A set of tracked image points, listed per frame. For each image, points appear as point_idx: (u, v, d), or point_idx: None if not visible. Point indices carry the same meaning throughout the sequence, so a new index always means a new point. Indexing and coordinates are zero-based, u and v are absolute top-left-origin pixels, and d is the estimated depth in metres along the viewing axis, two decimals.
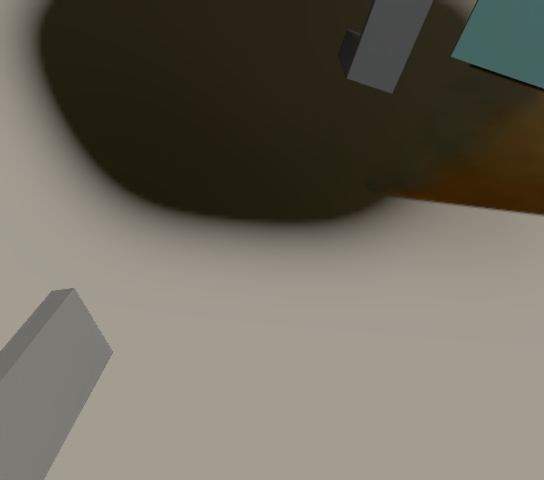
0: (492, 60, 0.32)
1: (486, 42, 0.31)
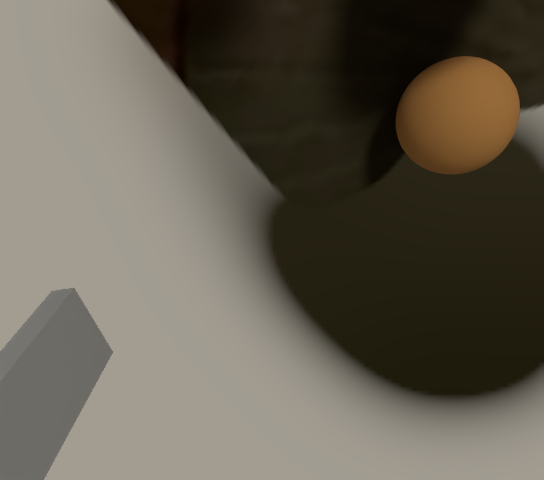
0: None
1: None
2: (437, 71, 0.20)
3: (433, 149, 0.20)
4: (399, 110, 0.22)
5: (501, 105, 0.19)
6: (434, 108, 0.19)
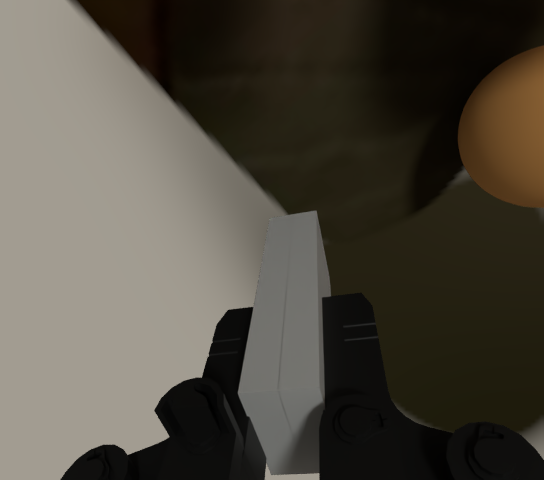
0: None
1: None
2: (528, 68, 0.14)
3: (523, 179, 0.14)
4: (466, 123, 0.16)
5: None
6: (528, 123, 0.13)
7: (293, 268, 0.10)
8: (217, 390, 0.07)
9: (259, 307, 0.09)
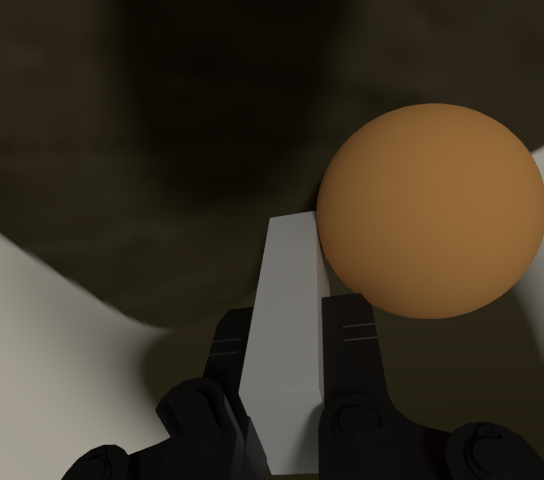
0: None
1: None
2: (420, 149, 0.09)
3: (473, 297, 0.10)
4: (357, 243, 0.10)
5: (540, 176, 0.10)
6: (467, 226, 0.09)
7: (292, 268, 0.10)
8: (217, 390, 0.07)
9: (259, 307, 0.09)
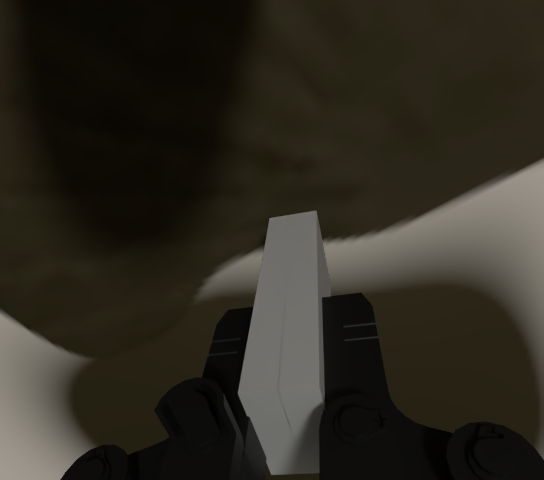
0: None
1: None
2: None
3: None
4: None
5: None
6: None
7: (293, 268, 0.10)
8: (217, 390, 0.07)
9: (259, 307, 0.09)
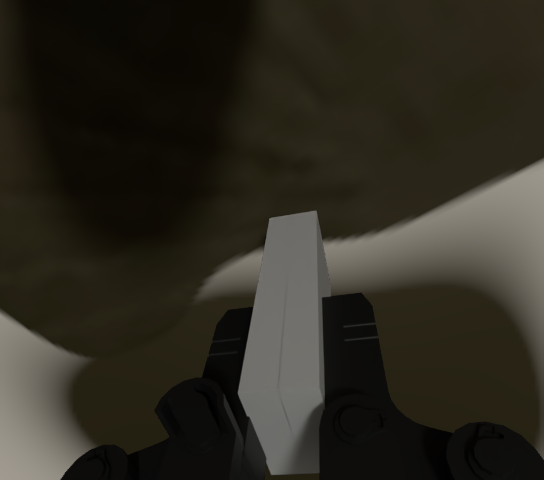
0: None
1: None
2: None
3: None
4: None
5: None
6: None
7: (293, 268, 0.10)
8: (217, 390, 0.07)
9: (259, 307, 0.09)
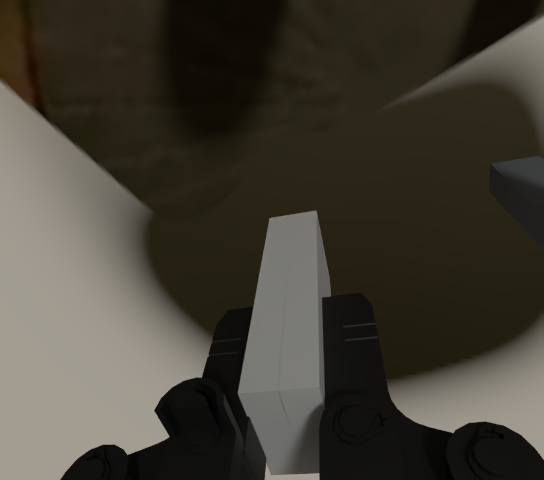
0: None
1: None
2: None
3: None
4: None
5: None
6: None
7: (293, 268, 0.10)
8: (217, 390, 0.07)
9: (259, 307, 0.09)
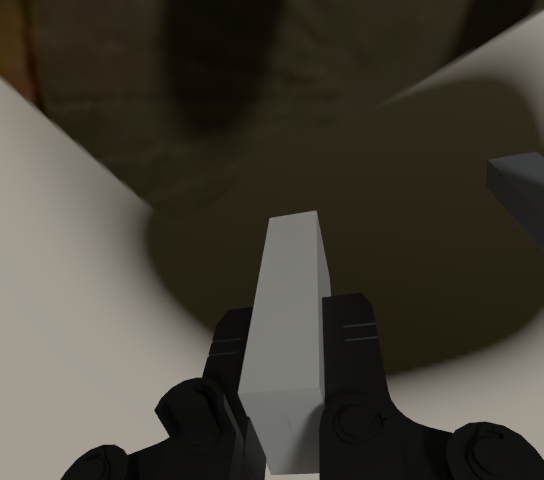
0: None
1: None
2: None
3: None
4: None
5: None
6: None
7: (293, 268, 0.10)
8: (217, 390, 0.07)
9: (259, 307, 0.09)
